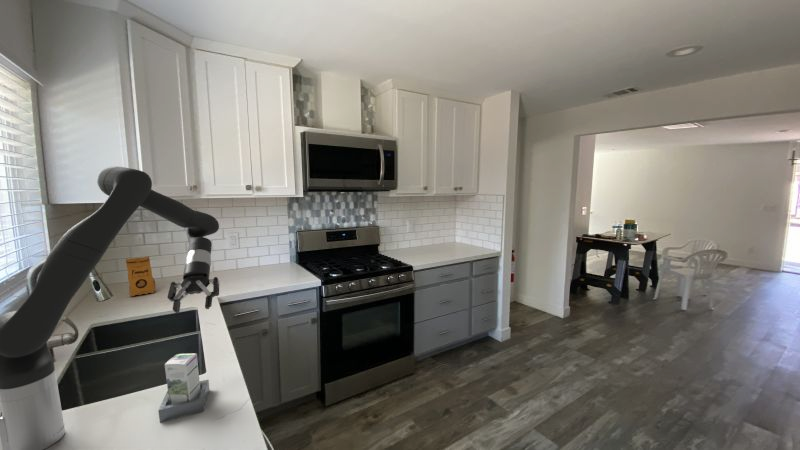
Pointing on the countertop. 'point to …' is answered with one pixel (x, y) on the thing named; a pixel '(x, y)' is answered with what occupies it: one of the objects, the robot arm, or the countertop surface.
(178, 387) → the syrup box
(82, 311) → the countertop surface
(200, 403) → the gray square tray
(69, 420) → the countertop surface
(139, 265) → the coffee package
